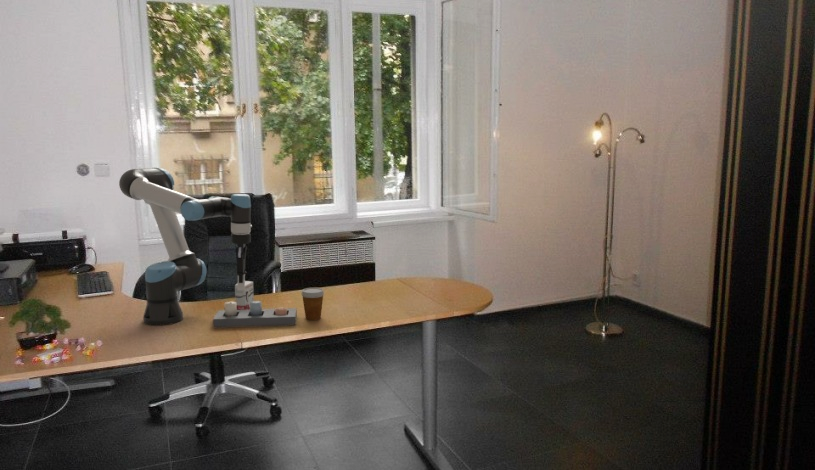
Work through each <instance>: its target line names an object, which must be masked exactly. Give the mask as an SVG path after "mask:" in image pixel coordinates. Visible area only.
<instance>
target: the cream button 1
mask: <svg viewBox="0 0 815 470" xmlns="http://www.w3.org/2000/svg"><path fill="white" fill-rule="evenodd" d="M224 310H225V316H227V317H229V316H236V315H237V303H236V302H235V301H226V302H224Z"/></svg>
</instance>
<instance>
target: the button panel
mask: <svg viewBox="0 0 815 470" xmlns="http://www.w3.org/2000/svg"><path fill="white" fill-rule="evenodd" d="M275 309H276V308H262V315H259V316H252V315H250V309H249V310H237V315H236V316H229V317H227V316H225V309H223V310H217V312H216V314H215V315H214V317H213V319H212V325H213V328H214V329H216V328H243V327H250V328H251V327H273V326H274V327H276V326H296V321H297V309H298V308H296V307H292V308H290V307H289V308H287V315H275Z"/></svg>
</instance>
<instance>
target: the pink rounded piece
mask: <svg viewBox="0 0 815 470" xmlns="http://www.w3.org/2000/svg"><path fill="white" fill-rule="evenodd" d="M274 309H275V315H287V308H286V307H280V306H279V307H276V308H274Z"/></svg>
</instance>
